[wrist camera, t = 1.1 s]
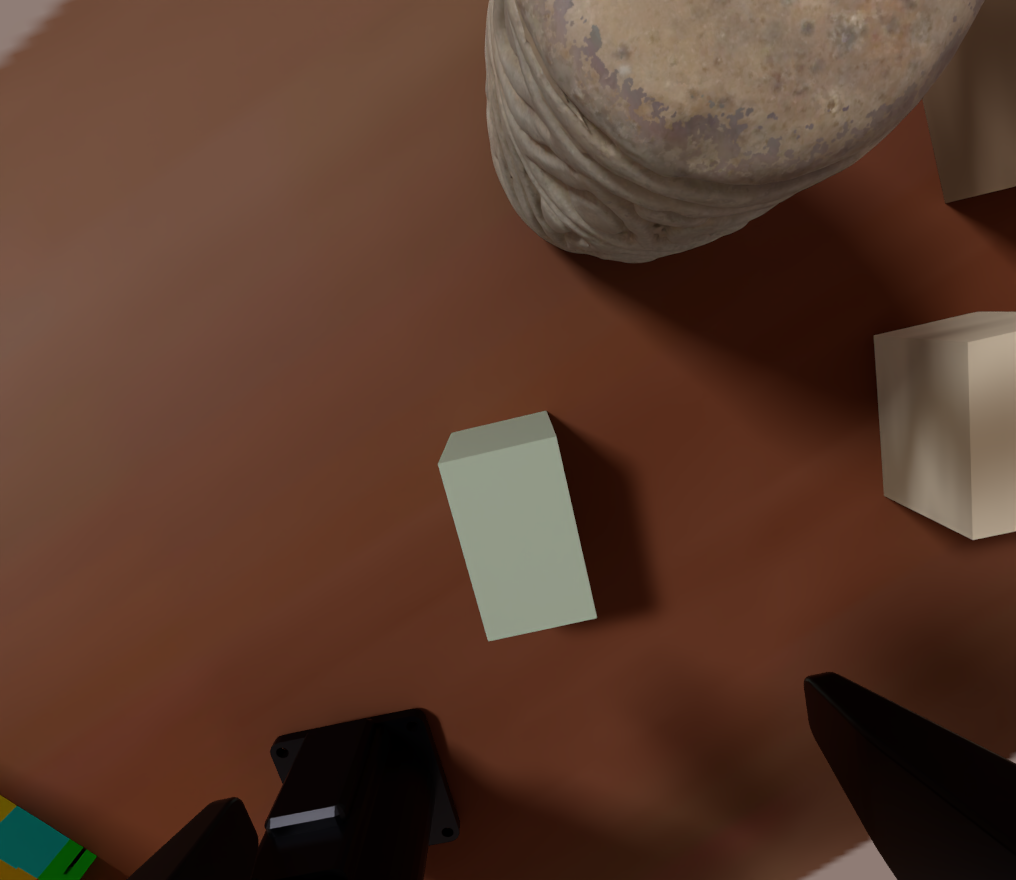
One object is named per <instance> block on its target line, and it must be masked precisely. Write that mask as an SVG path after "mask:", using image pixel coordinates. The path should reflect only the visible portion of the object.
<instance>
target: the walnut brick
mask: <svg viewBox="0 0 1016 880" xmlns="http://www.w3.org/2000/svg"><path fill="white" fill-rule="evenodd" d="M922 99H923V104H924V109H925V113H926V118H927V122H928V127H929V131H930V136H931V141H932V145H933V150H934V154H935V159H936V163H937V168H938V173H939V177H940V182H941V186H942V191H943V195H944V200H945V203H949V202H953V201H957V200H961V199H965V198H969V197H974V196H978V195H982V194H986V193H990V192H994V191H998V190H1002V189H1007V188H1011V187H1015V186H1016V0H985V1H984V3H983V4H982V6H981V8H980V10H979V12H978V14H977V16H976V18H975V20H974V21H973V23H972V25H971V27H970V28H969V30H968V32H967V34H966V36H965V37H964V39H963V41H962V42H961V44H960V46H959V48H958V50H957V51H956V53H955V55H954V57H953V58H952V60H951V61H950V63H949V64H948V65H947V67H946V68H945V70H944V71H943V72H942V74H941V75H940V76H939V78H938V79H937V80H936V82H935V83H934V84H933V85H932V86H931V88H930V89H929V90H928V92H927V93H926V94H925V95H924V97H923V98H922Z"/></svg>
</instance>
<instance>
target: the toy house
mask: <svg viewBox="0 0 1016 880" xmlns="http://www.w3.org/2000/svg"><path fill="white" fill-rule="evenodd" d="M82 849H83V847H82V846H81V845H79V844H77V843H75V842H74V841H72V840H71V839H69V838H68V837H66V836H64V835H63V834H61V833H60V832H58V831H56V830H55V829H53V828H52V827H51V826H49V825H47V824H46V823H44V822H43V821H41V820H39V819H38V818H36V817H34V816H33V815H31V814H30V813H28V812H26V811H25V810H23V809H22V808H20V807H19V806H17V805H15V804H14V803H12V802H11V801H9V800H7V799H6V798H4V797H3V796H1V795H0V880H80V878H81V877H82V876H83V874H84V873H85V872H86V870H87V869H88V868H89V866H90V865H91V864H92V862H93V861H94V860H95V858H96V857H97V856H96V855H94V854H93V853H91V852H90V851H88V850H87V849H86V851H85V852H84V853H83V854H82V856H81V857H80V858H79V860H78V861H77V862H76V863H75V865H74V866H73V867H71V866H70V867H69V865H70V864H71V863H72V861H73V860H74V859H75V858H76V856H77V855H78V854H79V853H80V851H81V850H82ZM68 867H69V868H68Z"/></svg>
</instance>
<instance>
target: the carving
mask: <svg viewBox="0 0 1016 880" xmlns="http://www.w3.org/2000/svg"><path fill="white" fill-rule="evenodd" d="M984 1H985V0H489V5H488V10H487V21H486V38H485V60H486V76H487V77H486V87H485V90H486V96H487V126H488V133H489V139H490V146H491V153H492V159H493V163H494V167H495V170H496V173H497V175H498V178H499V180H500V183H501V185H502V187H503V189H504V191H505V193H506V195H507V197H508V199H509V201H510V203H511V204H512V206H513V208H514V209H515V211H516V212H517V214H518V215H519V216H520V218H521V219H522V220H523V221H524V222H525V223H526V224H527V225H528V226H529V227H530V228H531V229H532V230H533V231H534V232H536V233H537V234H538V235H539V236H540V237H541V238H543V239H544V240H546V241H548V242H549V243H551V244H553V245H555V246H557V247H559V248H561V249H563V250H565V251H568V252H572V253H579V254H589V255H592V256H595V257H598V258H600V259H604V260H614V261H622V262H624V263H643V262H649V261H653V260H655V259H657V258H660V257H664V256H668V255H672V254H676V253H680V252H684V251H687V250H690V249H693V248H695V247H699V246H702V245H705V244H707V243H710V242H712V241H714V240H716V239H718V238H720V237H722V236H724V235H729V234H731V233H733V232H735V231H738V230H740V229H741V228H743V227H744V226H746V225H747V223H748V222H749V221H750V220H753V219H755V218H757V217H759V216H761V215H763V214H764V213H766V212H767V211H769V210H770V209H771V208H773V207H775V206H776V205H777V204H779V203H780V202H783V201H784V200H786V199H788V198H789V197H791V196H793V195H794V194H796V193H798V192H800V191H802V190H804V189H807V188H809V187H811V186H813V185H815V184H817V183H819V182H821V181H823V180H825V179H826V178H828V177H830V176H832V175H835V174H837V173H838V172H840V171H842V170H844V169H846V168H848V167H849V166H851V165H852V164H854V163H855V162H856V161H858V160H859V159H860V158H862V157H863V156H864V155H865V154H866V153H868V152H869V151H870V150H871V149H872V148H874V147H875V146H876V145H877V144H878V143H879V142H880V141H881V140H882V139H884V138H885V137H886V136H887V135H888V134H889V133H890V132H891V131H892V130H893V129H894V128H895V127H896V126H897V125H898V124H899V123H900V122H901V120H902V119H904V118H905V117H906V116H907V115H908V113H909V112H910V111H911V110H912V109H913V108H914V107H915V106H916V105H917V104H918V103H919V101H920V100H921V99H922V98H923V97H924V95H925V94H926V93H927V92H928V90H929V89H930V88H931V86H932V85H933V84H934V83H935V82H936V80H937V79H938V78H939V76H940V75H941V74H942V72H943V71H944V70H945V68H946V67H947V65H948V64H949V63H950V61H951V60H952V58H953V57H954V55H955V53H956V51H957V50H958V48H959V46H960V44H961V42H962V41H963V39H964V37H965V36H966V34H967V32H968V30H969V28H970V27H971V25H972V23H973V21H974V20H975V18H976V16H977V14H978V12H979V10H980V8H981V6H982V4H983V3H984Z"/></svg>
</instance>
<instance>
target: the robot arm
mask: <svg viewBox="0 0 1016 880" xmlns="http://www.w3.org/2000/svg"><path fill="white" fill-rule="evenodd" d="M804 691H805V698H806V706H807V713H808V720H809V725H810V728H811V731H812V733H813V736H814V738H815V740H816V742H817V743H818V745H819V747H820V749H821V751H822V752H823V754H824V756H825V758H826V759H827V761H828V763H829V765H830V767H831V768H832V770H833V772H834V774H835V776H836V777H837V779H838V781H839V783H840V784H841V786H842V788H843V790H844V792H845V793H846V795H847V797H848V799H849V801H850V802H851V804H852V806H853V808H854V809H855V811H856V813H857V815H858V817H859V818H860V820H861V822H862V824H863V825H864V827H865V829H866V831H867V832H868V834H869V836H870V838H871V839H872V841H873V843H874V844H875V846H876V848H877V849H878V851H879V853H880V854H881V855H882V857H883V859H884V860H885V862H886V863H887V865H888V866H889V868H890V869H891V871H892V872H893V873H894V875H895V877H896V878H897V880H1016V764H1015V763H1013V762H1011V761H1010V760H1008V759H1006V758H1004V757H1002V756H1000V755H998V754H996V753H994V752H992V751H990V750H988V749H986V748H984V747H982V746H980V745H978V744H976V743H974V742H972V741H970V740H968V739H966V738H964V737H962V736H960V735H958V734H956V733H954V732H952V731H950V730H948V729H946V728H944V727H942V726H940V725H938V724H936V723H934V722H932V721H930V720H928V719H926V718H924V717H922V716H920V715H918V714H916V713H914V712H912V711H910V710H908V709H906V708H904V707H902V706H900V705H898V704H896V703H894V702H892V701H890V700H888V699H886V698H884V697H882V696H880V695H878V694H876V693H874V692H872V691H870V690H868V689H866V688H864V687H862V686H860V685H858V684H856V683H855V682H853V681H851V680H849V679H847V678H845V677H843V676H841V675H839V674H836V673H833V672H825V673H821V674H816V675H811V676H808V677H806V678H805V680H804ZM411 721H412V722H416V723H417V724H416V725H415V724H411V723H410V722H411ZM282 748H285V749H287V750H284V749H282ZM270 753H271V757H272V759H273V762H274V764H275V766H276V769H277V771H278V774H279V776H280V778H281V781H282V783H283V785H282V787H281V790H280V792H279V794H278V796H277V798H276V800H275V802H274V804H273V807H272V809H271V811H270V813H269V815H268V817H267V819H266V821H265V825H264V826H265V829H266V832H265V834H264V836H263V838H262V840H261V842H260V845H259V847H258V835H257V833H256V830H255V828H254V826H253V824H252V821H251V819H250V817H249V815H248V813H247V810H246V808H245V806H244V804H243V802H242V800H240V799H239V798H237V797H232V798H227V799H222V800H217V801H214V802H212V803H210V804H209V805H207V806H206V807H205V808H204V809H203V810H202V811H201V812H200V813H199V814H198V815H196V816H195V817H194V818H193V819H192V820H191V821H190V822H189V823H188V824H187V825H185V826H184V827H183V828H182V829H181V830H180V831H179V832H178V833H177V834H176V835H175V836H173V837H172V838H171V839H170V840H169V841H168V842H167V843H166V844H165V845H164V846H163V847H161V848H160V849H159V850H158V851H157V852H156V853H155V854H154V855H153V856H152V857H150V858H149V859H148V860H147V861H146V862H145V863H144V864H143V865H142V866H141V867H140V868H138V869H137V870H136V871H135V872H134V873H133V874H132V875H131V876H130V877H129V878H127V879H126V880H423V879H424V872H425V865H426V858H427V851H428V846H429V845H434V844H439V843H445V842H450V841H453V840H455V839H456V838H457V837H458V835H459V830H460V821H459V818H458V815H457V811H456V808H455V805H454V802H453V799H452V796H451V793H450V790H449V787H448V783H447V780H446V777H445V774H444V771H443V768H442V765H441V762H440V759H439V756H438V752H437V749H436V746H435V743H434V740H433V737H432V734H431V731H430V728H429V724H428V721H427V718H426V716H425V714H424V713H423V712H422V711H420V710H417V709H410V710H405V711H400V712H395V713H390V714H385V715H380V716H375V717H370V718H365V719H360V720H355V721H350V722H345V723H340V724H335V725H330V726H325V727H320V728H316V729H311V730H306V731H301V732H296V733H291V734H286V735H282V736H279V737H278V738H277V739H276V740H275V742H274V743H273V745H272V747H271V750H270Z"/></svg>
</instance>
